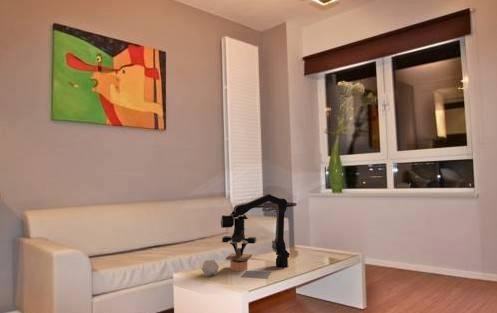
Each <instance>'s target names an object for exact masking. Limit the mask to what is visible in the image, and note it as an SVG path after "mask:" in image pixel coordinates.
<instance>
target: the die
mask: <svg viewBox="0 0 497 313" xmlns="http://www.w3.org/2000/svg"><path fill="white" fill-rule="evenodd" d="M219 268H220V267H219V264H218V263H217V261H216V260H215V259H206V260H204V262H203V265H202V267H201V271H202V273H203V274H204V276H205V277H212V276H214V277H215V276H216V275H217V273H218V270H219Z"/></svg>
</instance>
